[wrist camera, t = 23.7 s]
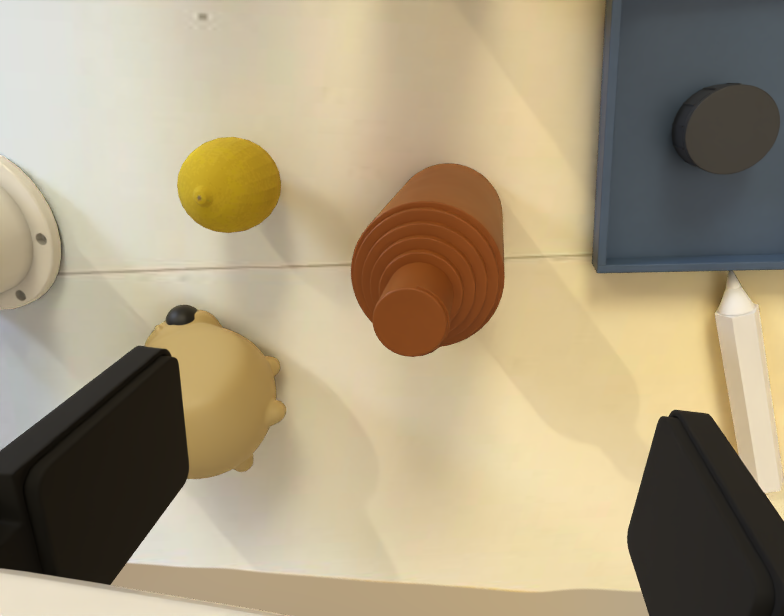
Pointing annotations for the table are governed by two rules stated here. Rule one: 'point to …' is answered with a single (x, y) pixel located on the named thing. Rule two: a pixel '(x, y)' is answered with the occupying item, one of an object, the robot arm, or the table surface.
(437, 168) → the amber bottle
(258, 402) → the toy pig
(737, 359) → the white pencil
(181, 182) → the lemon
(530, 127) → the table surface
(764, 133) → the black cap
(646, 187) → the slate tray
